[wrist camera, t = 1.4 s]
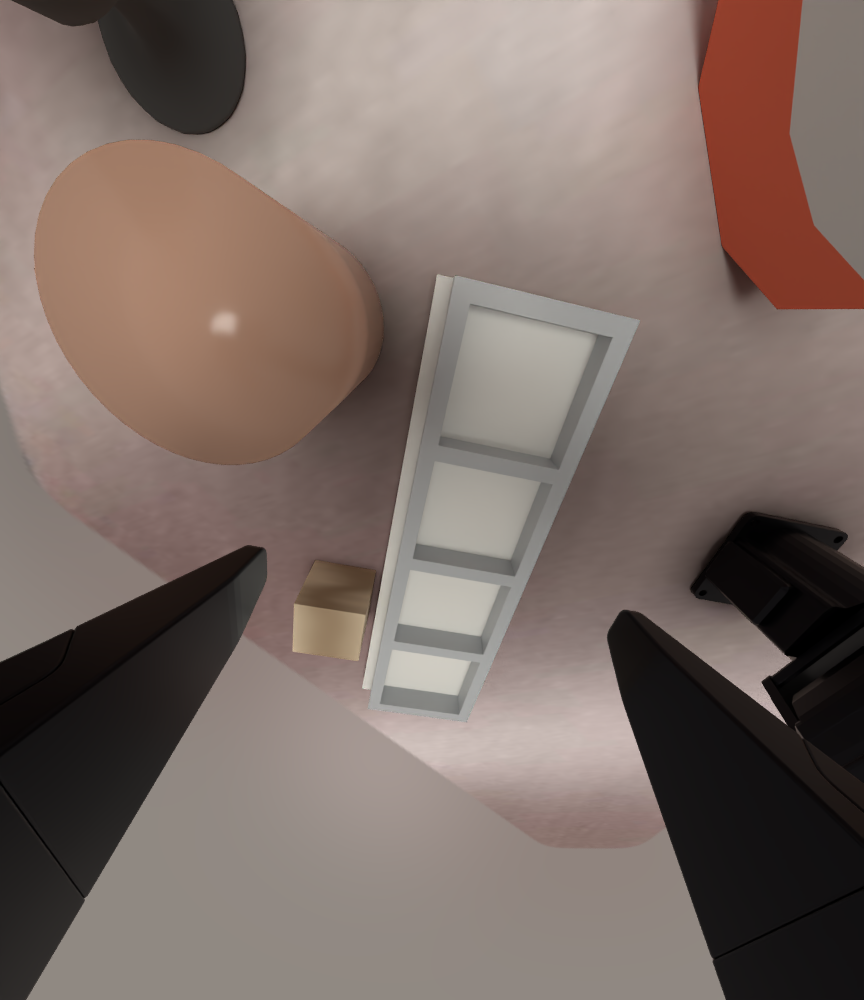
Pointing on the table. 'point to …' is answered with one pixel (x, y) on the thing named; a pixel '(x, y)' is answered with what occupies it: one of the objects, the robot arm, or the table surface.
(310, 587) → the beech block
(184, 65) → the sundae
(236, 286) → the terracotta mug
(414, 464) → the board
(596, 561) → the table surface
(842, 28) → the french fries container
